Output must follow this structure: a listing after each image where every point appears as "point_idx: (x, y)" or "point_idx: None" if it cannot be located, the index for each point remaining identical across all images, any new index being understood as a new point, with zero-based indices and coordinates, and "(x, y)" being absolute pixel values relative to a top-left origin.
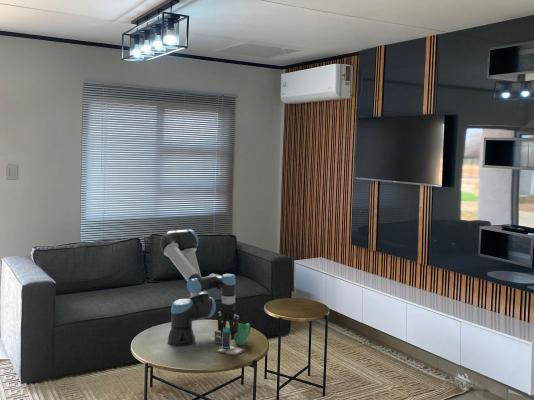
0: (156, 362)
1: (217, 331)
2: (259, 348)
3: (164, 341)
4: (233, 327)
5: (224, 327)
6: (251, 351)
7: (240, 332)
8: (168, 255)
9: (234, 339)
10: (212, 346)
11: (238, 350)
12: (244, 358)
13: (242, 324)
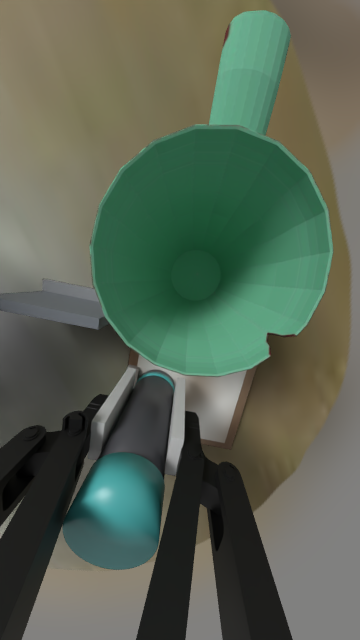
0: None
1: (3, 302)
2: (323, 309)
3: None
4: (194, 536)
5: (77, 527)
6: (287, 364)
7: (229, 352)
8: None
9: (162, 296)
10: (76, 367)
11: (226, 396)
12: (274, 450)
13: (195, 135)
